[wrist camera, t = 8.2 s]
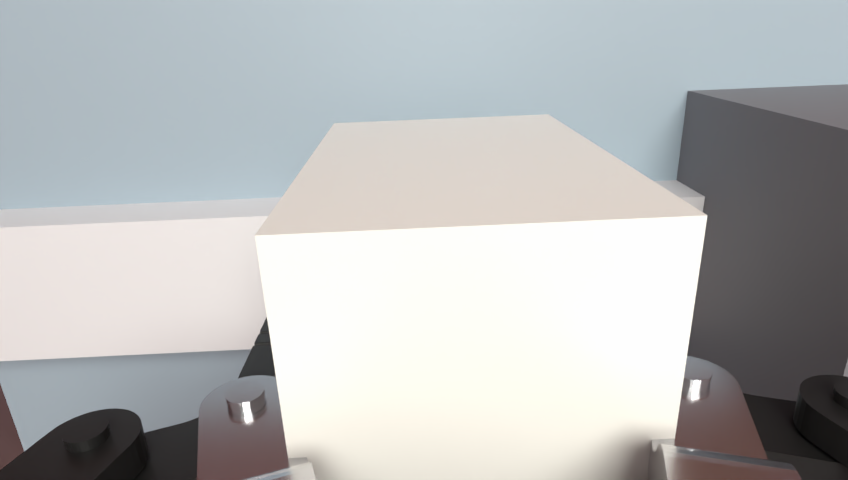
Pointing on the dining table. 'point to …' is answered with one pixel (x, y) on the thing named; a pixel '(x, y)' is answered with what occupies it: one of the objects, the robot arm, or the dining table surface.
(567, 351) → the din module
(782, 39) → the rail board
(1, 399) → the dining table surface
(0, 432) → the dining table surface
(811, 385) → the robot arm
